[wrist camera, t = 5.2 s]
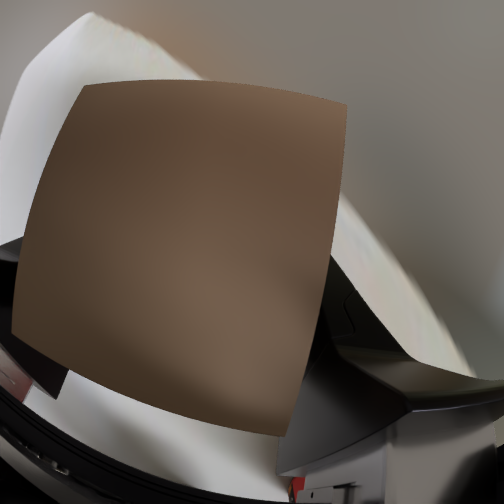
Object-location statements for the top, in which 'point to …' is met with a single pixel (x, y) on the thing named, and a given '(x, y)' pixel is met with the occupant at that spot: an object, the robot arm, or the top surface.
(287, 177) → the walnut block
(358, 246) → the top surface
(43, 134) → the top surface
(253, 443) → the top surface
